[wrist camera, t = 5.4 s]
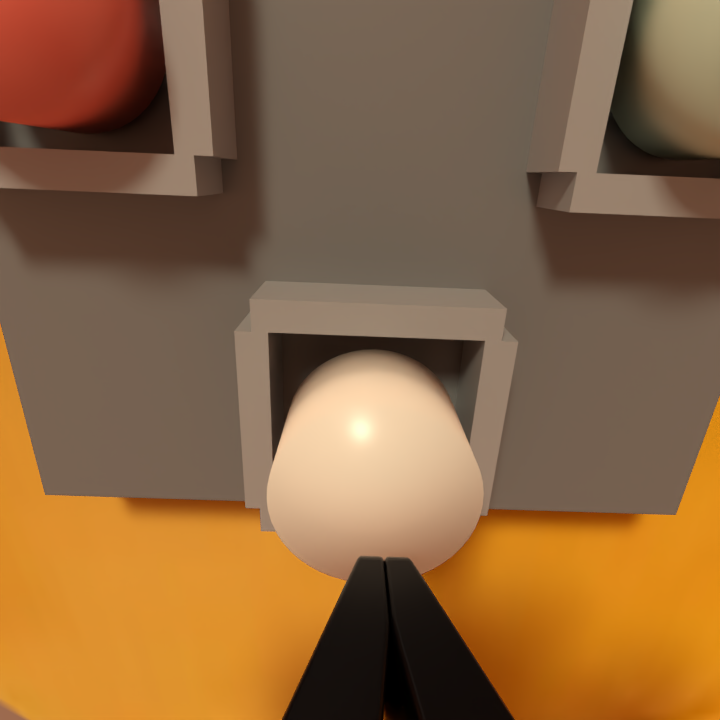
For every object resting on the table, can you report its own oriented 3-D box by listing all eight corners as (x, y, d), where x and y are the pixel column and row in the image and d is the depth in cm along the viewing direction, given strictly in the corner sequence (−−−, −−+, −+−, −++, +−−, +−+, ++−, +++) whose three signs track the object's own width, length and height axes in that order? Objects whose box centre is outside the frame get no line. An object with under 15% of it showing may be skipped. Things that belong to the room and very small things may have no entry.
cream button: (464, 352, 11) (499, 409, 9) (444, 498, 13) (468, 586, 10) (286, 346, 11) (262, 401, 8) (289, 492, 13) (270, 580, 10)
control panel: (794, -89, 12) (1073, -260, 7) (627, 463, 18) (718, 561, 14) (-24, -134, 12) (-280, -343, 7) (94, 445, 18) (1, 539, 13)
